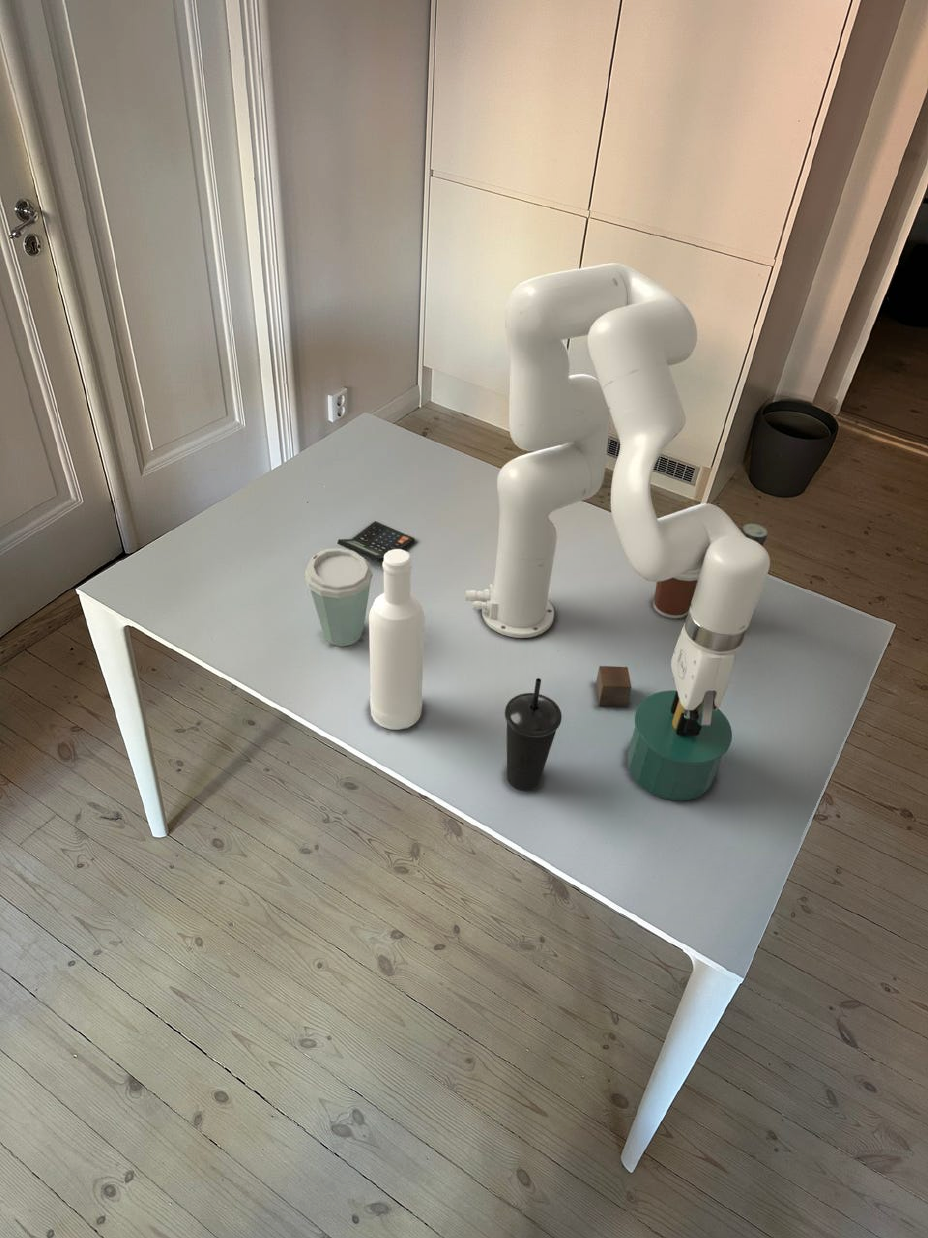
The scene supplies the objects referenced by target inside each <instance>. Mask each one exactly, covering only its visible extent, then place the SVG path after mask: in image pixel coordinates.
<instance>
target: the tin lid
mask: <svg viewBox="0 0 928 1238" xmlns="http://www.w3.org/2000/svg"><path fill="white" fill-rule="evenodd" d="M676 692H677V690H663V691H658V692H656V693H652V694H650V695H648V696H647V697H645V698H644V699H643V700H642V701H641V702H640V703H639V704H638V706H637V708H636V711H635V714H634V728H635V727H636V731H637V733H638V735H639V737H640V738H641V740H642V741H643V742H644V744H645V745H646V746H647V747H648V748H649V749H651V750H652V751H653V752H655V753H656V754H658V755H659V756H661V757H663V758H665V759H667V760H670V761H672V762H676V763H680V764H685V765H703V764H707V763H711V762H713V761H716V760H717V759H719V758H721V757H722V758H723V756H724V755H725V754H726V753H727V752H728V750H729V749H730V746H731V745H732V744H731V743H732V740H733V731H732V727H731V724H730V721H729V719H728V718H727V716H726V715H725V714H724V713H723V712H722V710H721V709H720V708H718V709H717V710H716V711H714V710H713V708H712V716H711V724H710V726H702V727H701V730H700V733H699V735H698V736H685V735H677V734H676V728H677V725H678V722H679V719H680V716H681V713H684V712H685V709H684V708H683V706H682V705H681V702H680V699H679V702H678V705H677V708H676V711H675V714H672V713H671V710H670V709H671V706H672V702H673V699H674V696H675V693H676ZM692 711H700V706H697V707H696V708H695V709H694V710H692ZM722 758H721V759H722Z"/></svg>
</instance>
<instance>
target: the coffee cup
mask: <svg viewBox="0 0 928 1238" xmlns="http://www.w3.org/2000/svg"><path fill="white" fill-rule="evenodd" d="M700 572H701V569H698V568H695V569H693V570H690V571H688V572H685V573H683V574H681V575H678V576H675V577H673V578H670V579H668V580H665V581H659V582H656V585H655V591H654V597H653V603H652V604H653V608H654V610H655V611H656V613H658V614H660V615H661V616H663V617H666V618H670V619H681V618H684V617H685V616H686V617H687V615H688V612H689V608H690V606H691V602H692V599H693V596H694V592H695V589H696V585H697V582H698V578H699V575H700Z"/></svg>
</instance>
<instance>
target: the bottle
mask: <svg viewBox="0 0 928 1238" xmlns="http://www.w3.org/2000/svg"><path fill="white" fill-rule="evenodd" d="M412 568H413V563H412V556H411V554H410V553H409V552H408V551H406V550H401V549H393V550H390V551H388V552H387V553H385V555H384V561H383V562H382V569H383V592H382V593H380V594H379V595H378V596H377V597H376V598H375V600H374V602H373V604H372V606H371V608H370V609H369V610H370V611H369V613H368V627H369V629H368V632H369V634H368V635H369V671H370V672H369V679H370V680H369V681H370V682H369V684H370V695H369V706H370V707H369V708H370V717H372V719H373V721H374V722H375V723H376V724H378V726H380V727H382V728H385V729H388V730H395V731H396V730H397V731H398V730H404V729H409V728H410V727H411V726H412V727H413V726H414V725H415V724H416V723H418V721H419V720H420V717H421V715H422V708H423V680H424V679H423V678H424V651H425V649H424V648H425V624H426V623H425V622H426V621H425V620H426V619H425V611H424V609H423V606H422V604H421V602H420V600H419V598H418V597H417V596H416V595H414V594H413V593H411V583H412V582H411V579H412V578H411V576H412V575H411V574H412Z"/></svg>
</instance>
